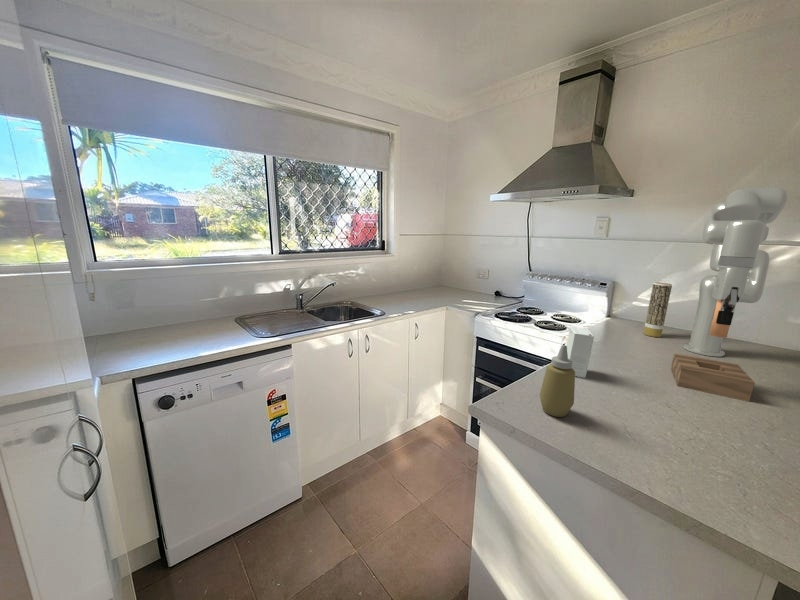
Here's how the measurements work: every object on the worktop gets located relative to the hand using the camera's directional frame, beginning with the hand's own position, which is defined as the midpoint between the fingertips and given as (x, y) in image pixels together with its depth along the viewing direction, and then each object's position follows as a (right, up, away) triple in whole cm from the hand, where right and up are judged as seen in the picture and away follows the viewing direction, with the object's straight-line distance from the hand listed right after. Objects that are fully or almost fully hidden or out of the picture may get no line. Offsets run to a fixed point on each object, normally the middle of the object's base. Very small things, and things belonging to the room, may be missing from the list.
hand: (721, 322), depth 100 cm
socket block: (-1, -20, +4) cm, 20 cm away
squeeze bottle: (-59, -22, -15) cm, 65 cm away
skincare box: (-40, -18, +10) cm, 45 cm away
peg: (0, -4, +1) cm, 4 cm away
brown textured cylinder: (+21, -10, +55) cm, 60 cm away
